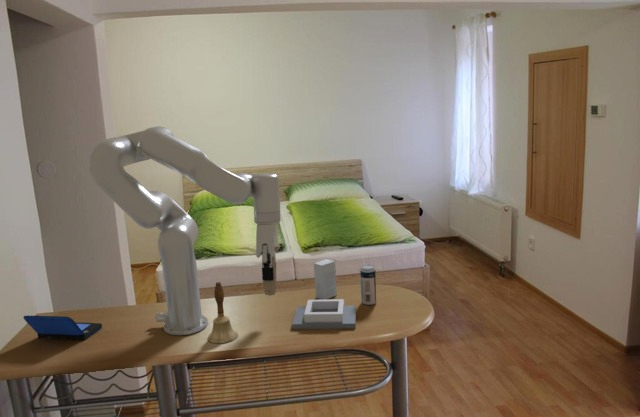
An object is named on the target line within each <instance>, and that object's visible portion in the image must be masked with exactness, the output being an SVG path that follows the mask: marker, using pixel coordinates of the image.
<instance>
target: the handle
mask: <svg viewBox="0 0 640 417" xmlns="http://www.w3.org/2000/svg"><path fill="white" fill-rule="evenodd" d="M280 248H281V246H280V243H279V242H278V243H277V245H276V247H275V252H276V253H277V252H278V251H279V250H280ZM267 257H270V255H267ZM275 258H276V254H275V255H274V256H273V257H272V267H273V274H274V279H273V281H264V280H262V284H263V289H264V291H263V292H264V295H266V296H268V297H269V296H270V297H271V296H274V295H275V294H276V292H277V289H276V288H277V266H276V267H275V262H276V261H275ZM268 260H269V261H270V259H268Z"/></svg>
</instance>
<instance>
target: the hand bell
mask: <svg viewBox="0 0 640 417" xmlns="http://www.w3.org/2000/svg"><path fill="white" fill-rule="evenodd" d="M214 286H215V287H214V290H213V291H214V292H213V294H214V299H215V302H216V306H217V317H215V318H214V319H213V322H212V329H211V333H210V334H209V335H208V337H207V340H208V341H209V342H210V343H212V344H227V343H230V342H233V341H235V340H236V339H238V337H239V333H238V332H237V331H236V330H235V329H234V328H233V326H232V324H231V320H230V318H229V316H225V313H224V299H225V291H224V288H223V286H222V283H221V281H217V282H216V283H215V285H214Z"/></svg>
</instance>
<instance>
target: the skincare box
mask: <svg viewBox="0 0 640 417" xmlns="http://www.w3.org/2000/svg"><path fill="white" fill-rule="evenodd" d="M313 273H314V274H313V275H314V286H315V290H314V291H315V298H316V299H318V300H325V299H331V298H333V297H336V296H337V295H338V289H337V276H336V274H337V273H336V261H335V260H331V259H328V258H325V259H322V260H319V261H316V262H314V263H313Z"/></svg>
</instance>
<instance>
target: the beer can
mask: <svg viewBox="0 0 640 417" xmlns="http://www.w3.org/2000/svg"><path fill="white" fill-rule="evenodd" d="M359 271H360V293H361V294H360V295H361V298H360V300H361V304H363V305H365V306H373V305H375V304H376V303H377V284H376V283H377V282H376V281H377V278H376V268H375V266H374V265H372V264H366V265H365V264H364V265H361V267H360V269H359Z"/></svg>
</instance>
